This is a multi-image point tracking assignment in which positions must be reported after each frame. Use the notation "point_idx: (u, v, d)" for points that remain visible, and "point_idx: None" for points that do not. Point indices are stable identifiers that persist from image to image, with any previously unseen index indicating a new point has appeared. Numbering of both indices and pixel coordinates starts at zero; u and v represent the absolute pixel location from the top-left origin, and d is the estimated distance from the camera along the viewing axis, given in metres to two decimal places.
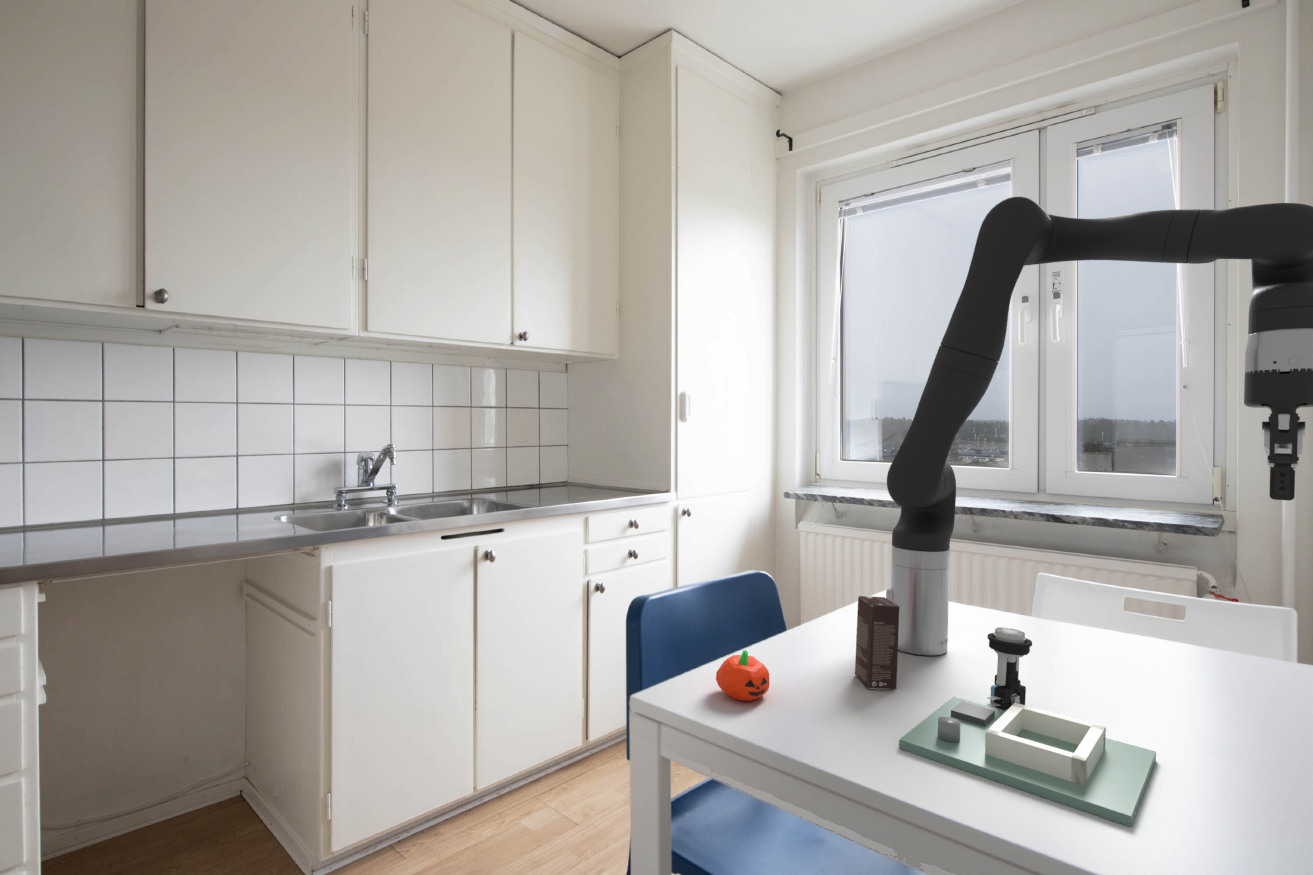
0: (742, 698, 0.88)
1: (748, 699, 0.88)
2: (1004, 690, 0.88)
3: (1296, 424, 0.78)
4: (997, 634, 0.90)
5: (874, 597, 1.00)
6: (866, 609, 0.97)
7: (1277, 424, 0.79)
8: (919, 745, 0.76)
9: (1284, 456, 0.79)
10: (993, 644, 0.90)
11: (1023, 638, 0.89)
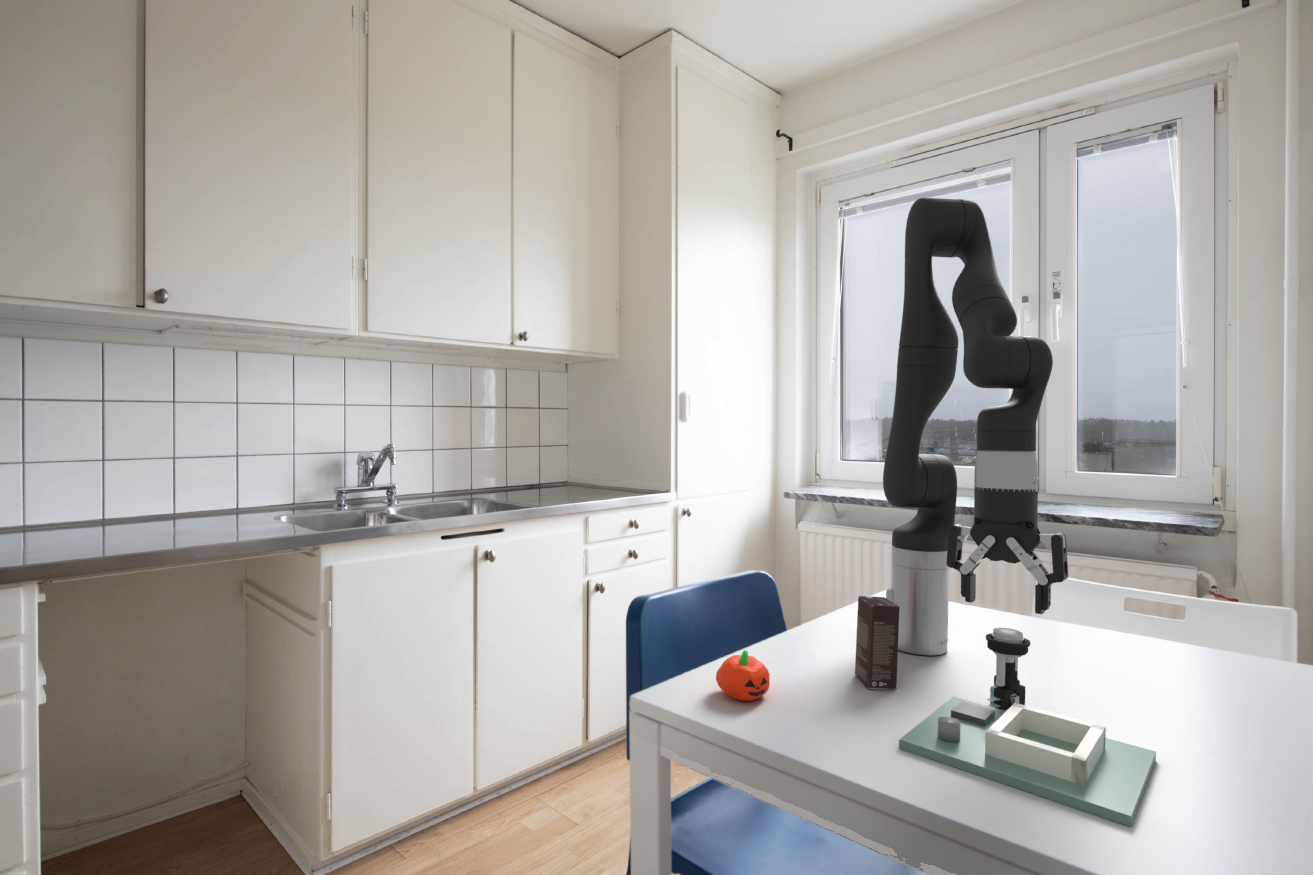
0: (742, 698, 0.88)
1: (748, 699, 0.88)
2: (1003, 691, 0.88)
3: None
4: (995, 635, 0.90)
5: (874, 597, 1.00)
6: (866, 609, 0.97)
7: (1063, 545, 0.84)
8: (919, 745, 0.76)
9: (1065, 574, 0.84)
10: (991, 645, 0.90)
11: (1021, 638, 0.89)
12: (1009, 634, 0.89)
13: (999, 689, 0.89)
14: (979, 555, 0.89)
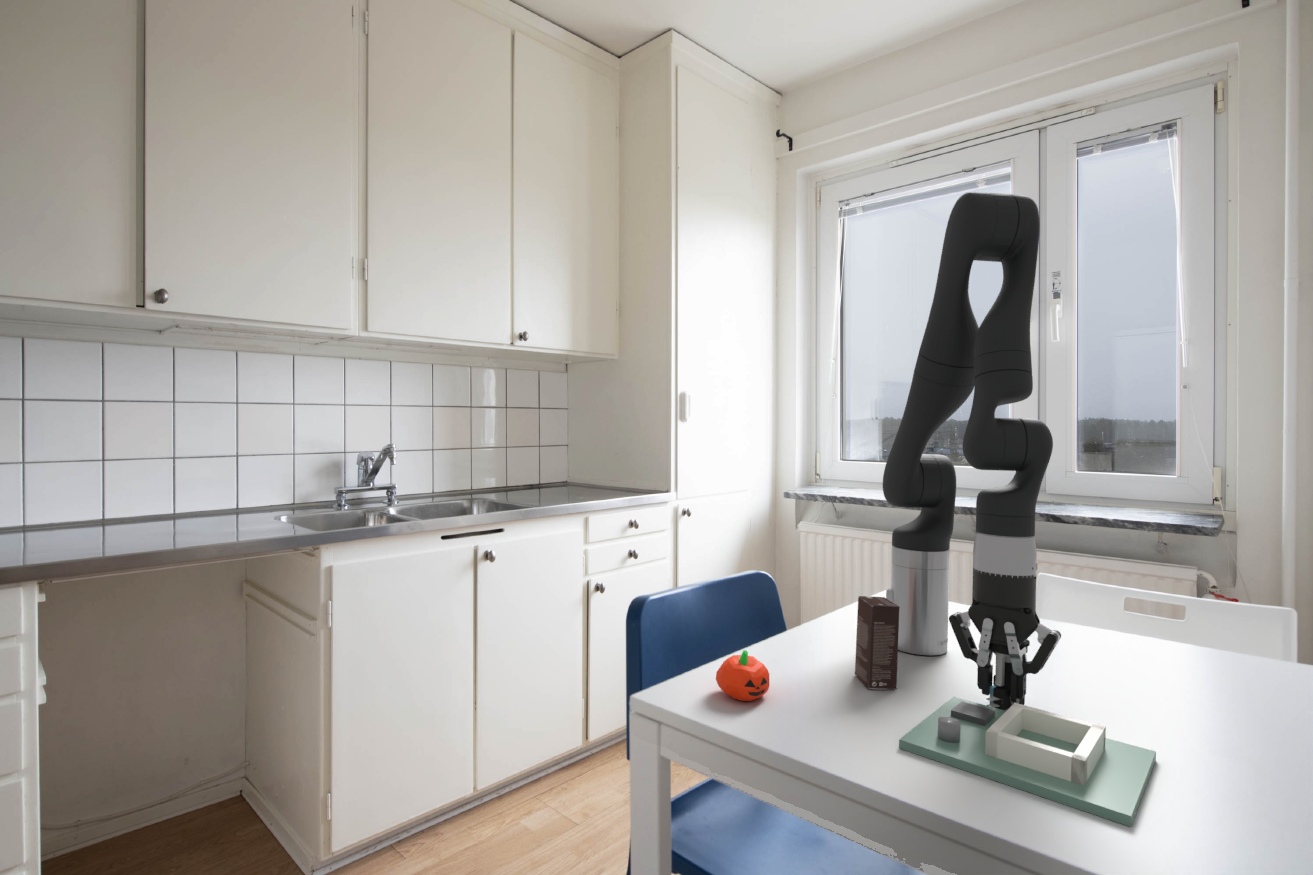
0: (742, 698, 0.88)
1: (748, 699, 0.88)
2: (1003, 691, 0.88)
3: (1057, 642, 0.85)
4: None
5: (874, 597, 1.00)
6: (866, 609, 0.97)
7: (1054, 645, 0.84)
8: (919, 745, 0.76)
9: None
10: None
11: None
12: None
13: (998, 689, 0.89)
14: (986, 641, 0.89)
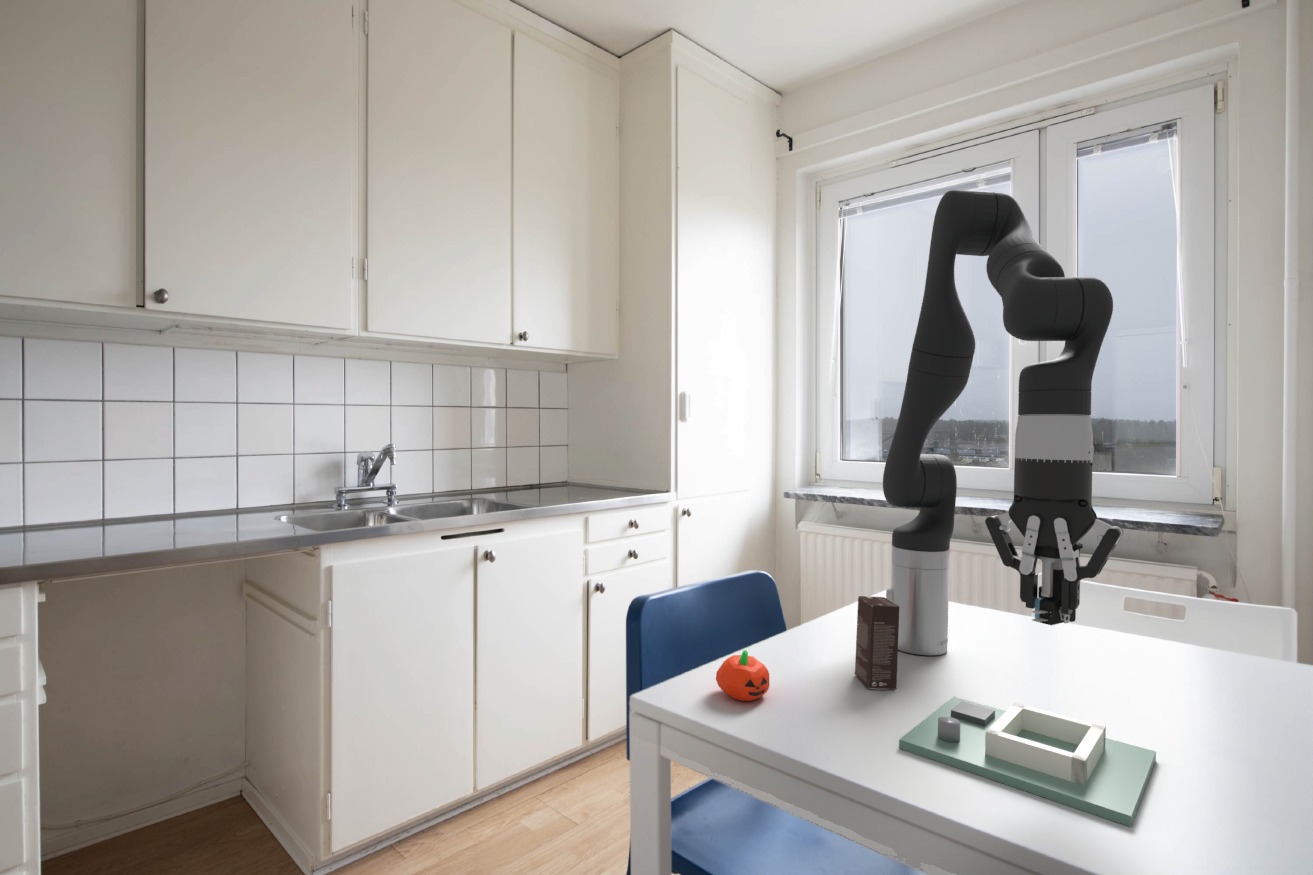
0: (742, 698, 0.88)
1: (748, 699, 0.88)
2: (1052, 602, 0.74)
3: (1118, 541, 0.71)
4: None
5: (874, 597, 1.00)
6: (866, 609, 0.97)
7: (1116, 542, 0.70)
8: (919, 745, 0.76)
9: None
10: None
11: None
12: None
13: (1046, 600, 0.75)
14: (1032, 543, 0.74)
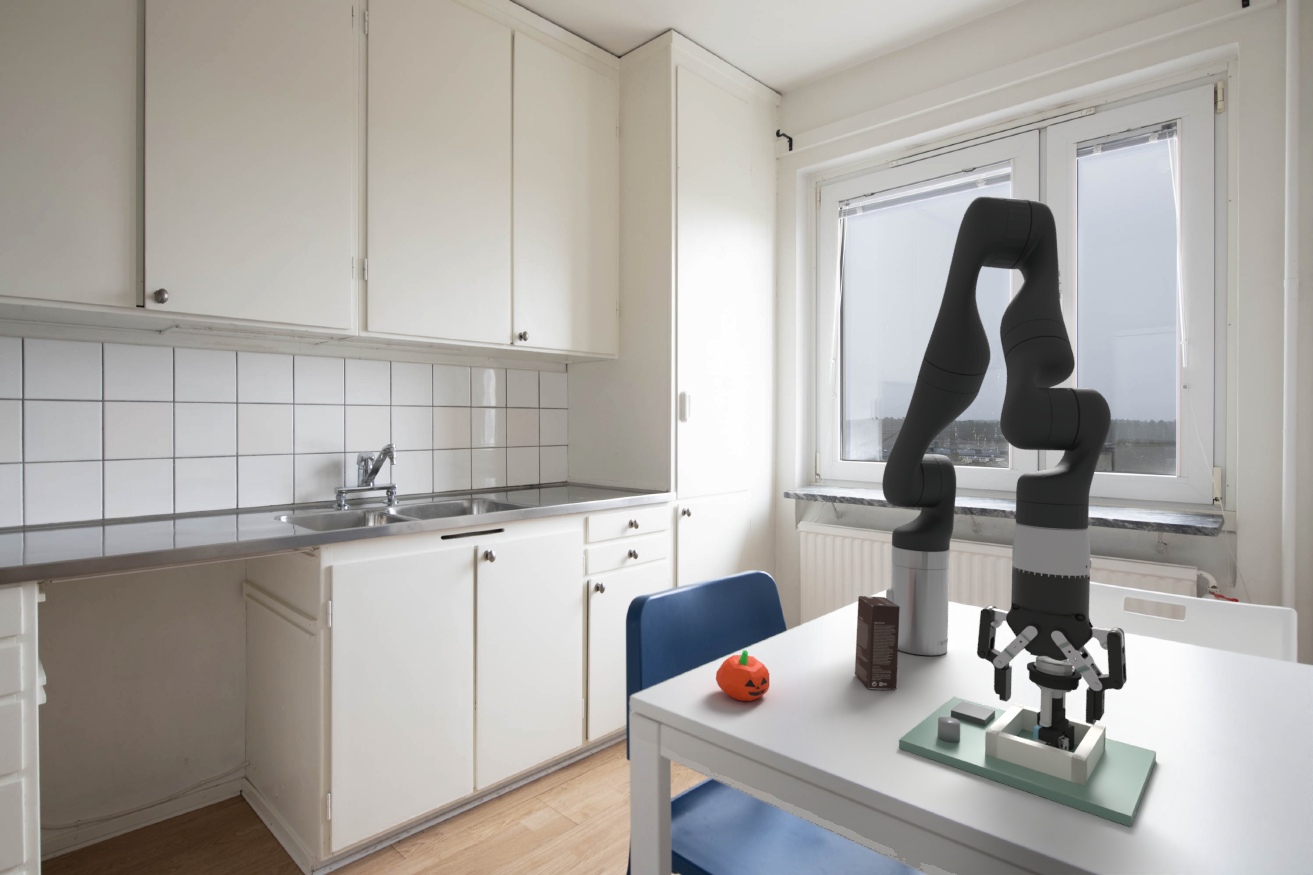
0: (742, 698, 0.88)
1: (748, 699, 0.88)
2: (1050, 733, 0.73)
3: (1124, 641, 0.71)
4: (1039, 665, 0.75)
5: (874, 597, 1.00)
6: (866, 609, 0.97)
7: (1122, 644, 0.70)
8: (919, 745, 0.76)
9: (1123, 679, 0.70)
10: (1035, 677, 0.75)
11: (1071, 669, 0.74)
12: (1057, 664, 0.74)
13: (1045, 730, 0.74)
14: (1017, 647, 0.75)
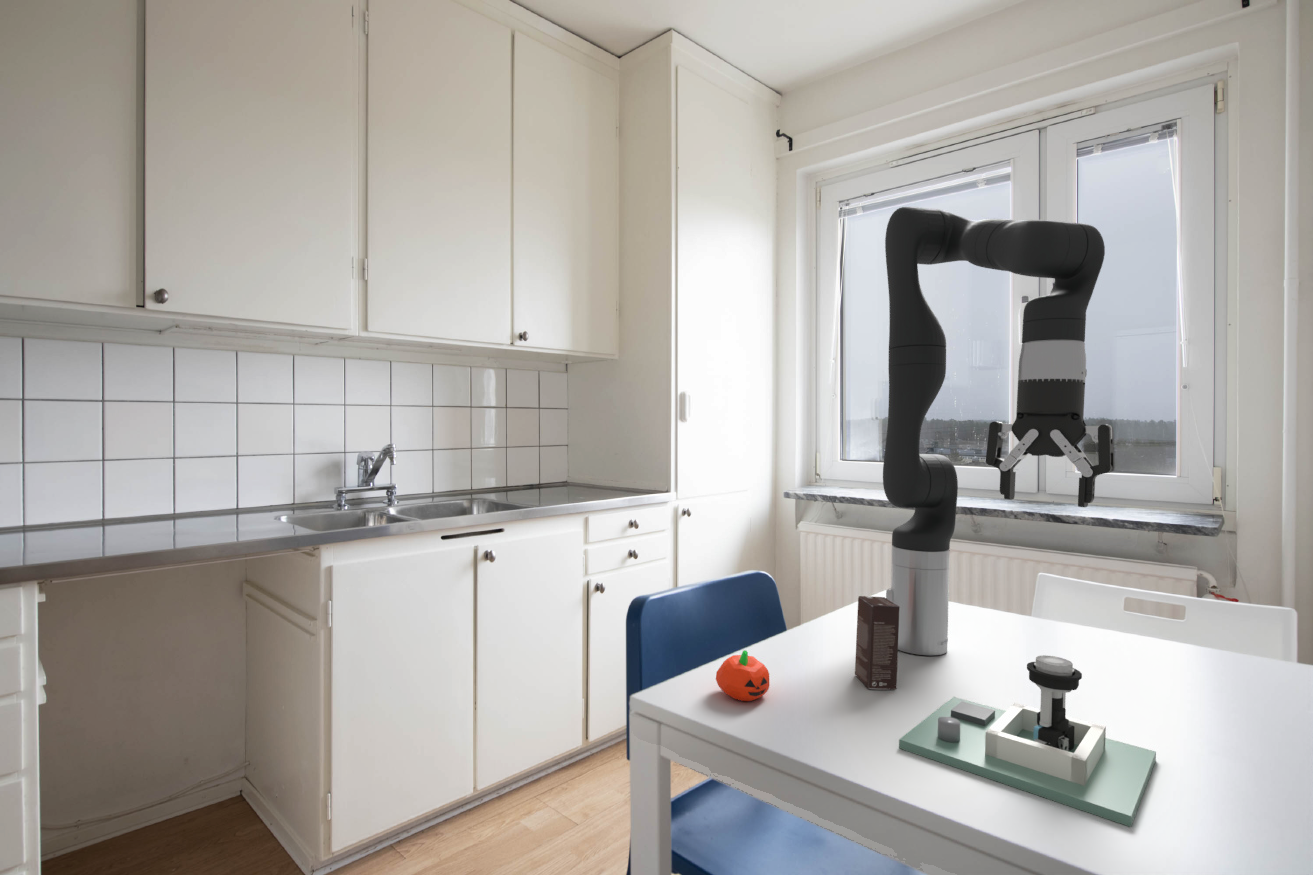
0: (742, 698, 0.88)
1: (748, 699, 0.88)
2: (1050, 733, 0.73)
3: None
4: (1039, 665, 0.75)
5: (874, 597, 1.00)
6: (866, 609, 0.97)
7: (1110, 435, 0.81)
8: (919, 745, 0.76)
9: (1111, 466, 0.82)
10: (1035, 677, 0.75)
11: (1071, 669, 0.74)
12: (1057, 664, 0.74)
13: (1045, 730, 0.74)
14: (1021, 450, 0.87)
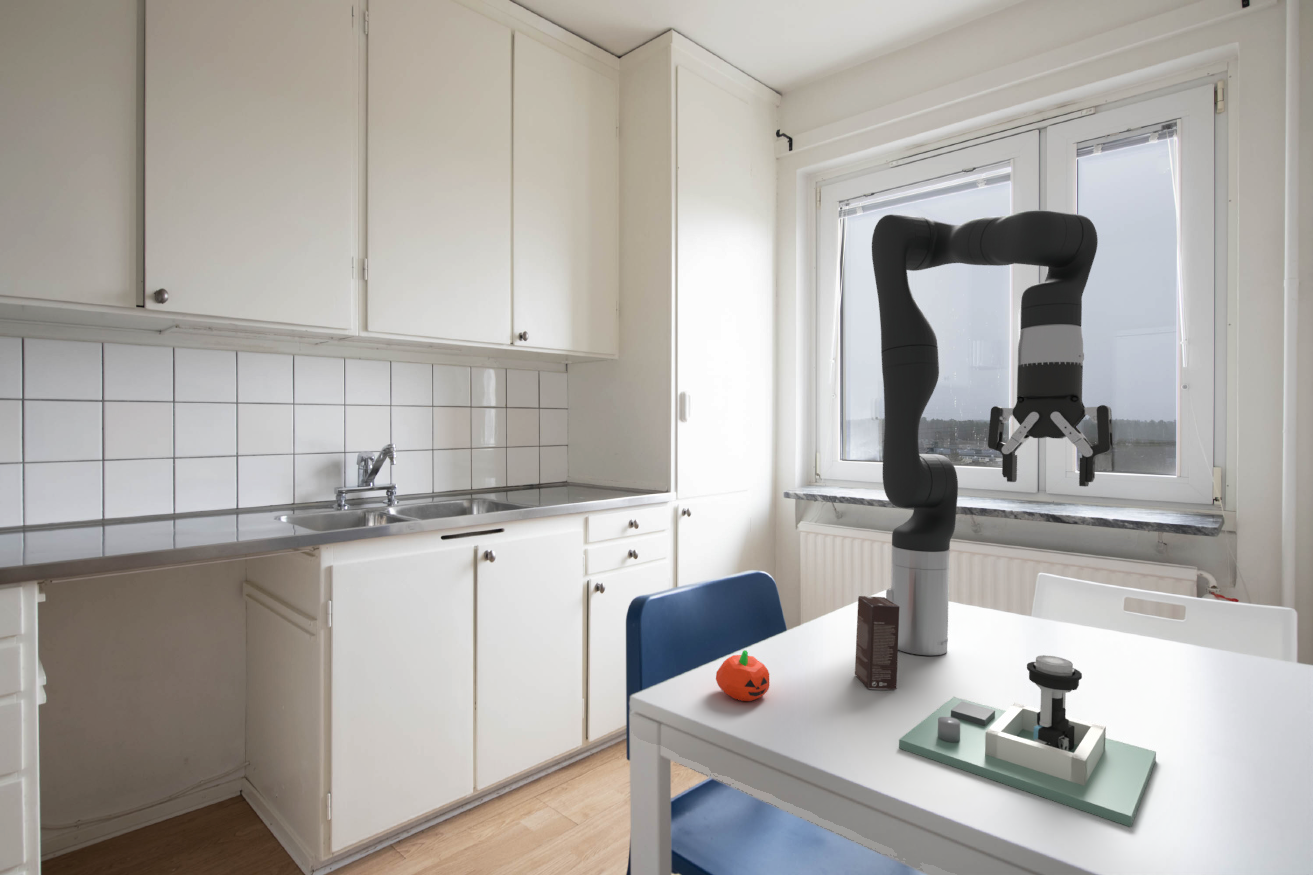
0: (742, 698, 0.88)
1: (748, 699, 0.88)
2: (1050, 733, 0.73)
3: (1111, 416, 0.85)
4: (1039, 665, 0.75)
5: (874, 597, 1.00)
6: (866, 609, 0.97)
7: (1109, 415, 0.84)
8: (919, 745, 0.76)
9: (1110, 445, 0.84)
10: (1035, 677, 0.75)
11: (1071, 669, 0.74)
12: (1057, 664, 0.74)
13: (1045, 730, 0.74)
14: (1022, 433, 0.90)
